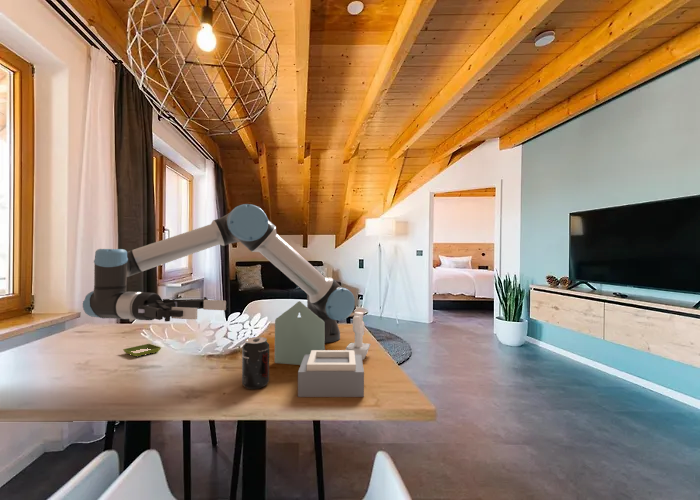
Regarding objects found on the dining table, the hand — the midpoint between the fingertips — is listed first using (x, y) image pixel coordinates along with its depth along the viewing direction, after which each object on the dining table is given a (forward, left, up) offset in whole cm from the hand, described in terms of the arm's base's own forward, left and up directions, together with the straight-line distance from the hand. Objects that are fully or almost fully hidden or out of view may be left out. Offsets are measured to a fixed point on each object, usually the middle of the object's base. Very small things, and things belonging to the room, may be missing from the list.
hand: (212, 309), depth 90 cm
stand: (+2, +32, -20) cm, 38 cm away
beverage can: (+2, +12, -20) cm, 23 cm away
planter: (-19, +22, -20) cm, 35 cm away
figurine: (-22, +40, -20) cm, 50 cm away
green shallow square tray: (-26, -34, -20) cm, 48 cm away
